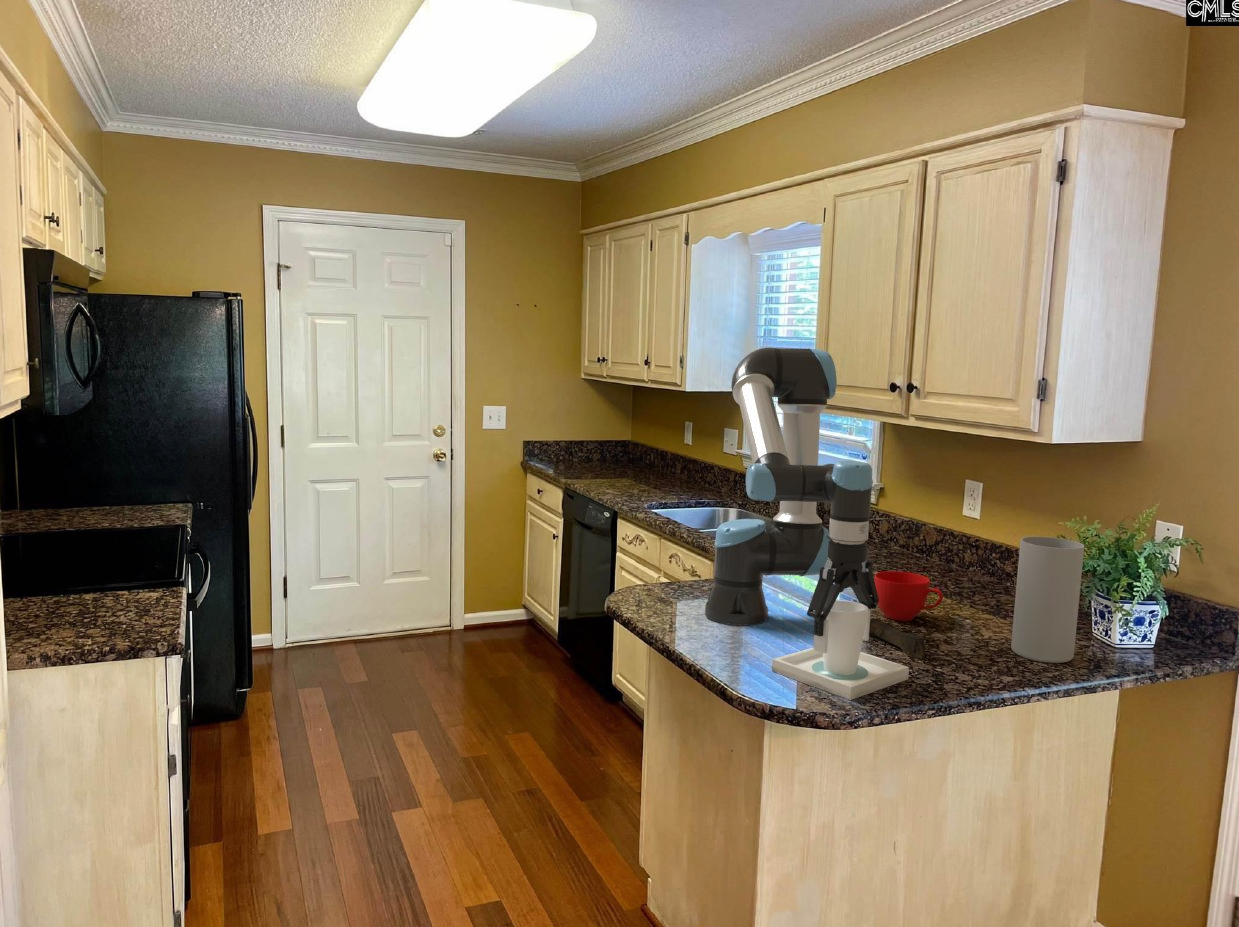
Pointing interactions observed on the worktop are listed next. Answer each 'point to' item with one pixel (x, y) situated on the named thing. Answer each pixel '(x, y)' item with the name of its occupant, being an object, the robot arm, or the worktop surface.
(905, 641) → the hand tool
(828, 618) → the foam cup
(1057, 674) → the worktop surface
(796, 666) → the square white tray
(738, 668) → the worktop surface
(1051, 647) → the cylinder vase
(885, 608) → the ceramic cup
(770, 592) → the worktop surface
